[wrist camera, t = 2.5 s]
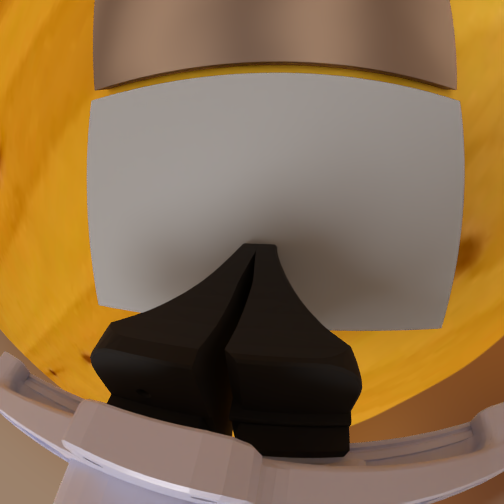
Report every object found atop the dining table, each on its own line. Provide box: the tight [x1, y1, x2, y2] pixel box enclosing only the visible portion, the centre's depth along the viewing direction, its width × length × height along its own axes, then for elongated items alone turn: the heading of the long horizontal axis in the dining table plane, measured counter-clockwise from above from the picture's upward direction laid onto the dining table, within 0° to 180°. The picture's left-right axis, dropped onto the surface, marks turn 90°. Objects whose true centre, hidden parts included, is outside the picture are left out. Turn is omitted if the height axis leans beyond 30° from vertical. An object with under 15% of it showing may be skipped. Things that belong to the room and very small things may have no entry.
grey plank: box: [87, 73, 464, 331], centre depth 12 cm, size 18×11×1 cm, turn 91°
